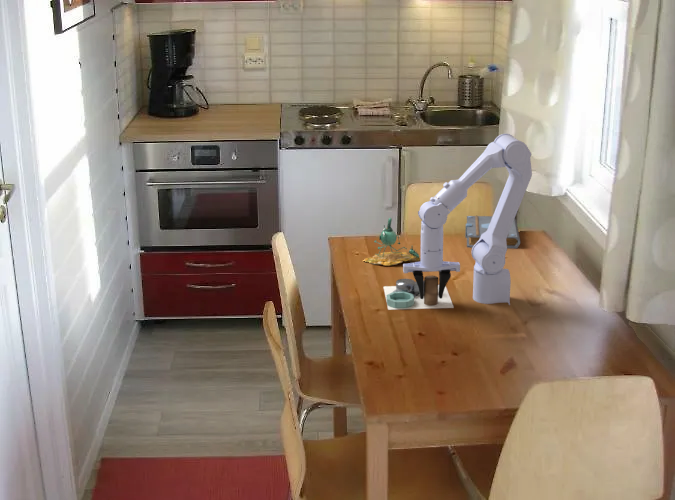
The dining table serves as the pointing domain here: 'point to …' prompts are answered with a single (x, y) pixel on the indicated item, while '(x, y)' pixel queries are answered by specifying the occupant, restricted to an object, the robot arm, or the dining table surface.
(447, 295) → the board
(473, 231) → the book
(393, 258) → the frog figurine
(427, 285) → the pin
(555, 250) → the dining table surface
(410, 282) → the grey ball-ended lever
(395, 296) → the socket
